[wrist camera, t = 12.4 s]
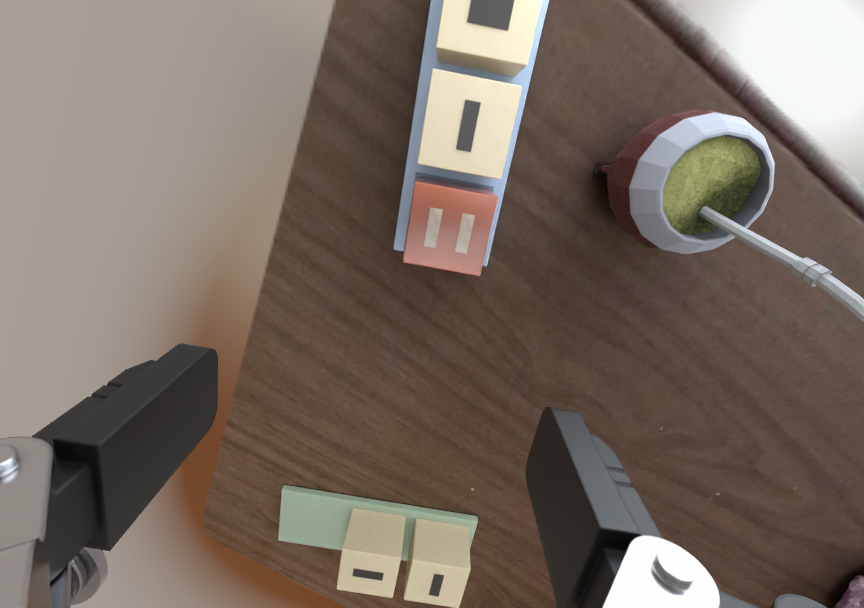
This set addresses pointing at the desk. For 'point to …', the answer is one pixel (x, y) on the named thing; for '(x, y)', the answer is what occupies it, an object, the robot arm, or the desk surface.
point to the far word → (383, 543)
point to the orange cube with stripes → (449, 225)
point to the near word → (471, 96)
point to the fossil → (853, 594)
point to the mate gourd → (703, 191)
